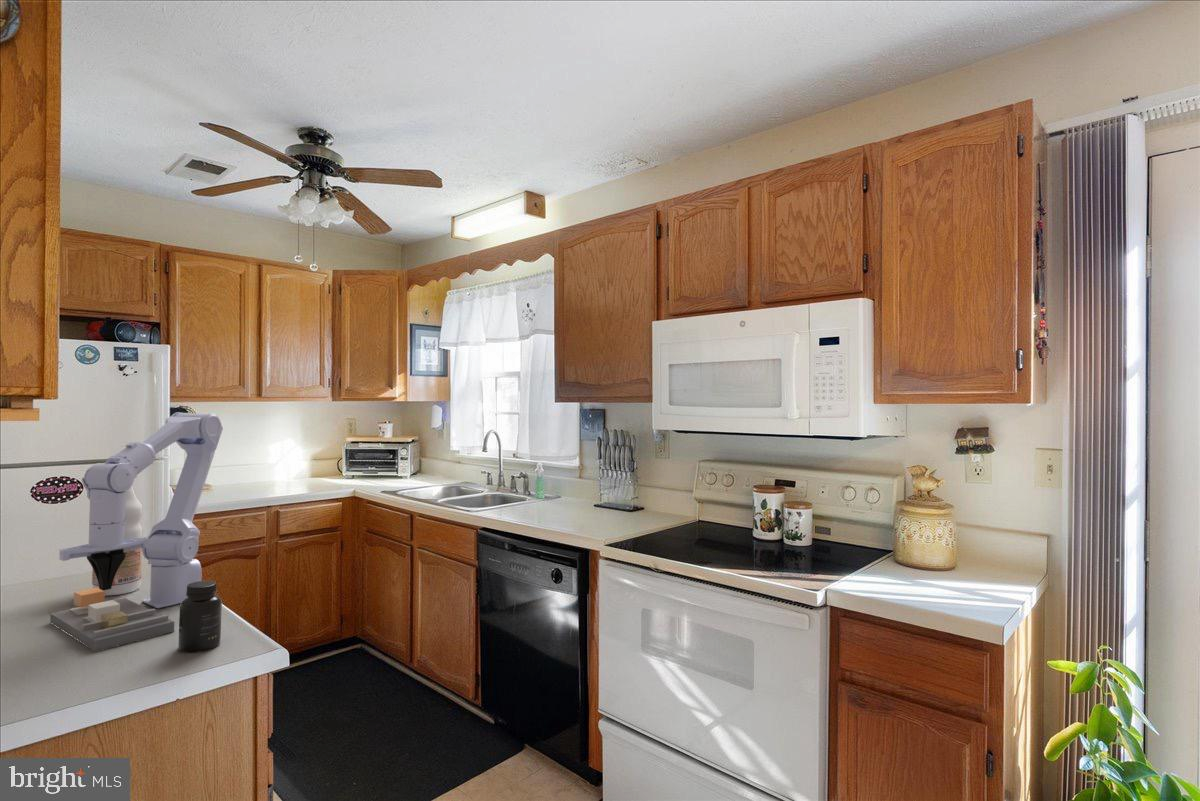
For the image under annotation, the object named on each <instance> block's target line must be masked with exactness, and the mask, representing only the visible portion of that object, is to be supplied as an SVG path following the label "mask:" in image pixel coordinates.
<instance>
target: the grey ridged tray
mask: <svg viewBox="0 0 1200 801" xmlns="http://www.w3.org/2000/svg"><path fill="white" fill-rule="evenodd" d="M113 601H115V602H117V603H119V604H120V611H121V612H123V613H125V614H127V615H128V620H127V624H123V625H119V626H115V627H110V628H106V629H103V628H101V620H100V621H94V620H92V619H90V618H89V617H88V608H89V606H87V607H82V608H81V607H79V606H77V607H72V608H69V609H65V610H61V611H56V612H51V613H50V617H49V618H50V621H49V622H51V623H53V624H54V625H56V626H57V627H59V628H60V629H62V630H64V631H65V632H67V633H68V634H70V635H72V636H73V637H75V638H76V639H78V640H79V641H81V642H82V643H84V644H85V645H87V646H88V647H87V646H86V647H87V648H89V647H90V648H91V649H90V648H89V649H90V650H92V649H93V650H94V652H95V651H96V652H99V651H98V650H100V651H103V650H102V649H104V650H107V649H111V648H114V647H113V646H115V647H118V646H117V645H119V646H123V645H126V644H125V643H127V644H130V642H131V643H134V642H133V641H135V642H138V641H137V640H139V641H142V639H143V640H146V639H150V638H154V637H158V636H161V634H162V635H166V634H169V632H170V633H173V631H174V632H175V621H174V620H172V619H170V618H169V615H168V614H162V615H161V614H159V613H157V611H156V608H151V609H150V608H148V607H145V606H143V605H142V604H141V605H140V604H138V603H137V602H135V601H133V600H131V599H129V598H125V597H124V598H119V599H115V600H113ZM51 623H50V624H51ZM54 625H53V626H54ZM56 626H55V627H56ZM57 627H56V628H57ZM59 628H58V629H59ZM60 629H59V630H60ZM62 630H61V631H62ZM65 632H64V633H65ZM67 633H66V634H67ZM165 633H166V634H165ZM68 634H67V635H68ZM70 635H69V636H70ZM153 636H154V637H153ZM73 637H72V638H73ZM149 637H150V638H149ZM76 639H75V640H76ZM78 640H77V641H78ZM79 641H78V642H79ZM81 642H80V643H81ZM82 643H81V644H82ZM84 644H83V645H84ZM122 644H123V645H122ZM85 645H84V646H85ZM110 647H111V648H110ZM106 648H107V649H106ZM93 650H92V651H93Z"/></svg>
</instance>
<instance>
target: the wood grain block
mask: <svg viewBox="0 0 1200 801" xmlns="http://www.w3.org/2000/svg"><path fill="white" fill-rule="evenodd" d="M127 620H128V615H127V614H125V613H123V612H121V611H115V612H111V613H106V614H102V615H101V628H103V629H106V628H110V627H115V626H119V625H123V624H127Z"/></svg>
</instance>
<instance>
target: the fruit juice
mask: <svg viewBox="0 0 1200 801" xmlns="http://www.w3.org/2000/svg"><path fill="white" fill-rule="evenodd" d="M143 508H144V507H143V505H142V503H141V502H140V501H139V499H138V497H137V495H136V493H135V491H134V487H133V485H132V486H131V487H130V488H129V489H127V490H126V498H125V532H124V539H135V538H144V537H143V536H144V534H143V533H144V532H143V526H142V525H141V519H142V516H143V512H144V509H143ZM97 552H98V551H97ZM123 552H124V553H126V556H125V559H124V560H123V562H122V563H121V565H120V567H119V568H118V570H117V572H116V575H115V577H114V580H113V583H112V587H111V589H109V590H104V591H105V597H108V596H109V597H110V596H118V595H124V594H129V593H132V592H134V591H137V590H139V589H140V588H141V585H142V567H143V566H142V562H143V553H142V548H138V549H131V550H125V551H123ZM91 571H92V577H91V589H92V588H99V584H98V580H97V577H96V574H95V572H94V569H93V568H92V570H91Z"/></svg>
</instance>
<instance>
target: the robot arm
mask: <svg viewBox="0 0 1200 801" xmlns="http://www.w3.org/2000/svg"><path fill="white" fill-rule="evenodd" d="M223 429H224V428H223V425H222V422H221V419H220V418H219V416H218V415H217V414H215V413H209V412H208V413H199V412H198V413H192V412H181V411H180V412H178V411H177V412H174V413H173V414H172V415H170V416H168V417H167V418H165V424H163V425H162V426H161V427H160V428H159V429H157V430H156V431H155V432H154V433H152V435H150V436H149V437H148V438H146V439H145V440H144V441H141V442H140V441H135V442H128V443H127V444H125V448H124V449H122V450H120V451H119V452H117V453H115V455H111V456H110V457H108V459H107V460H106V461H105V462H103V463H102V462H98V463H95V464H93V465H91V466H90V467H89V468H87V470H86V471H85V473H84V476H83V477H82V478H81V481H82V482H81V483H82V486H83V487H84V488H85V490H86V498H87V499H88V500H89V517H88V518H89V519H88V521H89V522H88V523H89V524H88V544H83V545H82V544H81V545H77V546H73V547H72V546H71V547H67V548H60V549H59V558H58V559H59V560H60V561H63V562H65V561H69V560H72V559H78V558H85V557H86V559H87V561H88V562H89V564H90V566H91V568H92V570H93V569H94V572H95V574H96V577H97V580H98V584H99V589H101V590H109V589H111V587H112V583H113V580H114V577H115V575H116V572H117V570H118V568H119V567H120V565H121V563H122V562H123V560H124V559H125V556H126V553H124V552H123V551H125V550H131V549H138V548H142V557H144V558H145V559H146V560H148V561H147V563H148V565H150V588H149V590H150V591H149V597H148V598H143V599H142V600H141V602H142V603H144V604H147V605H148V606H151V607H153V608H154V609H161V608H166V607H169V606H174V605H175V606H176V605H179V604H181V603H182V601H183V600H184V599H186V598H188V596H186V592H187V585H188V584H190V583H193V582H198V581H203V580H202V577H203V576H202V575H203V574H202V572H203V570H202V564H201V562H200V560H198V559H197V558H195V557H196V555H197V553H198V551H199V545H200V544H199V538H200V534H201V531H200V530H199V529H198V527H197V526H196V525H195V524H194V523H193V519H194V516H195V514H196V511H197V508H198V505H199V502H200V499H201V496H202V493H203V489H204V487H205V484H206V481H207V477H208V474H209V471H210V469H211V465H212V462H213V459H214V456H215V452H216V450H217V449H218V445H219V442H220V439H221V436H222V432H223ZM175 442H176V443H177V445H178V446H179V447H180V449H182V450H183V451H185V453H186V458H185V460H184V463H183V466H182V469H181V473H180V475H179V478H178V481H177V484H176V487H175V490H174V493H173V495H172V498H171V501H170V503H169V507H168V510H167V512H166V515H165V518H164V519H163V520H161V521H158V523H155V524H154V525H153V526H152V528H151V530H150V532H149V534H148V536H147V537H143V538H135V539H124V532H125V498H126V490H127V489H129V488H130V487H131V486H132V487H133V484H134V481H135V479H136V478H137V477H138V474H141V473H142V472H143V471H144V470H146V469H147V468H148V467H149V466H151V465H152V464H153V463H154V462H155V461H156V455H157V454H159V452H161V451H162V450H165V449H166V448H168V447H169V446H171V445H172V444H174V443H175ZM97 551H98V552H97Z"/></svg>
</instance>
